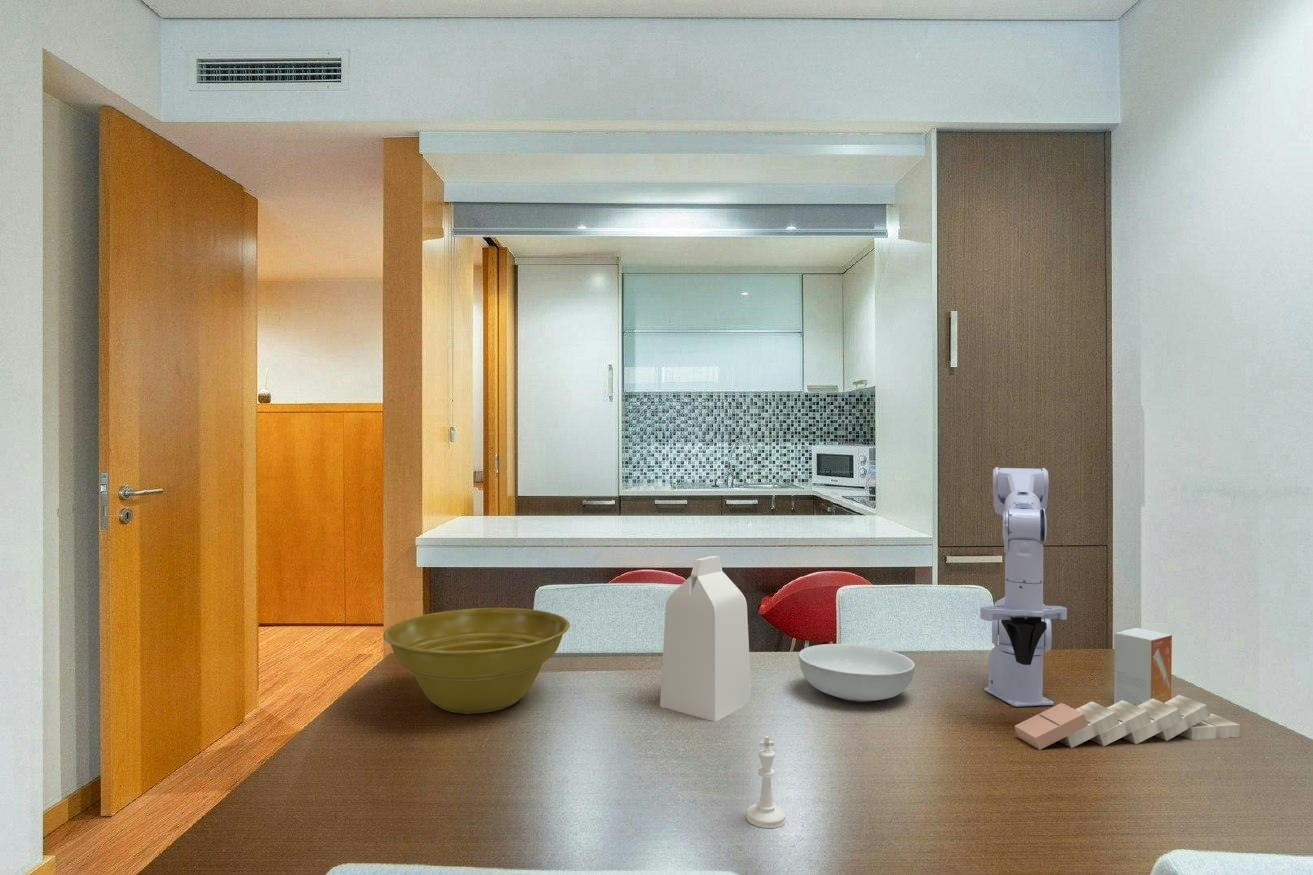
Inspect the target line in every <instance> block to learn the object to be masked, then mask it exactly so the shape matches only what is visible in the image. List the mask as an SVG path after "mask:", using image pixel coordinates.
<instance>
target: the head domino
mask: <svg viewBox="0 0 1313 875" xmlns="http://www.w3.org/2000/svg"><path fill="white" fill-rule="evenodd" d="M1076 709H1077V708H1073V707H1071V706H1069V705H1067V704H1065V703H1063V702H1060V703H1058V704H1055V706H1052V707H1050V708H1048V709H1046V710H1044V711H1042V712H1040V713H1038V714H1035V715H1033V716H1031V717H1030V718H1027V719H1026V720H1023V721H1021V722H1019V723H1017V724H1016V725H1014V729H1015V732H1016V734H1017V737H1018V738H1019V739H1021V740H1022V741H1024V742H1026V743H1027V744H1029V745H1030V746H1033V747H1034V748H1036V749H1038V751H1040V750H1043V749H1044V748H1046V747H1048V746H1051V745H1052V744H1054V743H1056V742H1060V741H1059V740H1061V739H1063V738H1065V737H1067V736H1069V735H1071V734H1073V733H1075V732H1077V731H1079V730H1081V729H1083V728H1085V727H1087V726H1088V723H1087V720H1086V717H1085V714H1084V713H1082V712H1080V711H1078V710H1076Z"/></svg>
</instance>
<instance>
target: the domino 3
mask: <svg viewBox="0 0 1313 875" xmlns="http://www.w3.org/2000/svg"><path fill="white" fill-rule="evenodd" d="M1137 707H1140V708H1142V709H1144V710H1147V711H1148V714H1149V717H1150V720H1151V723H1149V724H1147V725H1145V726H1143V727H1141V728H1139V729H1137V730H1135V731H1133V732H1131V733H1129V734H1127V735H1125V736H1124V737H1122V739H1124V740H1126V741H1128V742H1129V743H1132V744H1134V745H1138V744H1140V743H1141V742H1144V741H1145V740H1147V739H1150V738H1152V737H1153V736H1154V735H1155V734H1157V733H1159V732H1161V731H1163V730H1165V729H1167V728H1169V727H1171V726H1173V725H1175V724H1177V723H1179V722H1181V721H1183V720H1182V717H1181V714H1180V711H1179V709H1178V708H1175V707H1173V706H1170V705H1168V704H1165V703H1163V702H1160V701H1158V700H1155V699H1153V698H1152V699H1150V700H1148V701H1146V702H1144V703H1143V704H1141V705H1139V706H1137ZM1154 737H1155V736H1154Z"/></svg>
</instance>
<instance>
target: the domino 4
mask: <svg viewBox="0 0 1313 875" xmlns="http://www.w3.org/2000/svg"><path fill="white" fill-rule="evenodd" d="M1165 704H1168V705H1170V706H1173V707H1175V708H1178V709H1179V711H1180V714H1181V717H1182V720H1183V721H1181V722H1179V723H1177V724H1175V725H1173V726H1171V727H1169V728H1167V729H1165V730H1163V731H1161V732H1159V733H1157V734H1155V735H1154V737H1157V738H1159V739H1161V740H1164V741H1165V742H1168V741H1169V740H1171V739H1173V738H1174V737H1176V736H1179V734H1180V733H1182V732H1183V731H1185V730H1187V729H1189V728H1190V727H1192V726H1194V725H1196V724H1197V723H1199V722H1201V721H1203V720H1204V719H1206V718H1208V717H1210V714H1211V713H1210V711H1209V708H1208V705H1207V704H1205V703H1203V702H1200V701H1197V700H1194V699H1192V698H1189V697H1186V696H1184V695H1180V694H1178V695H1176V696H1174V697H1171V699H1170V700H1169V701H1167V702H1165Z"/></svg>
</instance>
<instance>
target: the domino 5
mask: <svg viewBox="0 0 1313 875" xmlns="http://www.w3.org/2000/svg"><path fill="white" fill-rule="evenodd" d="M1209 714H1210V717H1208V718H1206V719H1204V720H1203V721H1201V722H1199V723H1197V724H1196V725H1194V726H1192V727H1190V728H1189V729H1187V730H1185V731H1183V732H1182V733H1180V734H1178V736H1179V735H1180V736H1181V737H1184V738H1186V739H1188V740H1191V741H1205V740H1215V739H1216V740H1217V739H1230V738H1229V737H1232V738H1233V737H1235V738H1241V724H1240V723H1237V722H1235V721H1232V720H1230V719H1227V718H1224V717H1222V716H1219V715H1216V714H1214V713H1209ZM1232 738H1231V739H1232Z"/></svg>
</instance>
